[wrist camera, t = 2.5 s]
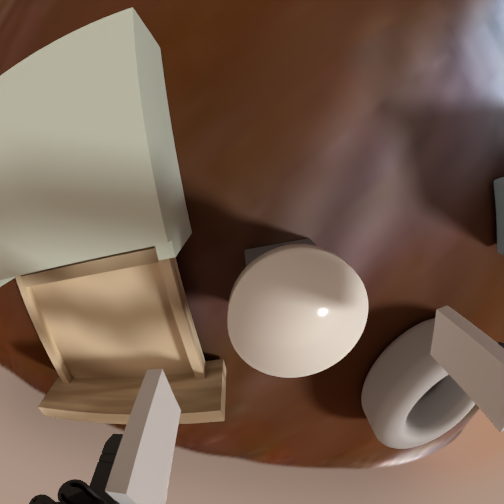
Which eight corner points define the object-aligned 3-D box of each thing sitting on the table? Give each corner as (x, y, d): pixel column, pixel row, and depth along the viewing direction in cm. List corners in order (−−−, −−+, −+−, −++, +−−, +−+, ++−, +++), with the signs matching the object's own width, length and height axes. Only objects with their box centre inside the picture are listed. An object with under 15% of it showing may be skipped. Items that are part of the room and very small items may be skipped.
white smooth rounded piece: (215, 257, 16) (212, 267, 15) (355, 232, 16) (366, 239, 15) (242, 371, 18) (242, 387, 17) (358, 347, 18) (366, 360, 17)
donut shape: (330, 395, 27) (348, 441, 21) (430, 286, 24) (472, 316, 18) (401, 426, 30) (420, 460, 24) (479, 344, 27) (509, 371, 21)
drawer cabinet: (-3, 122, 18) (-52, 120, 11) (160, 48, 18) (132, 7, 11) (23, 270, 22) (-22, 298, 15) (192, 232, 22) (172, 261, 15)
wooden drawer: (13, 244, 21) (-30, 265, 15) (183, 198, 21) (162, 210, 15) (72, 385, 25) (49, 423, 19) (228, 377, 25) (227, 428, 19)
